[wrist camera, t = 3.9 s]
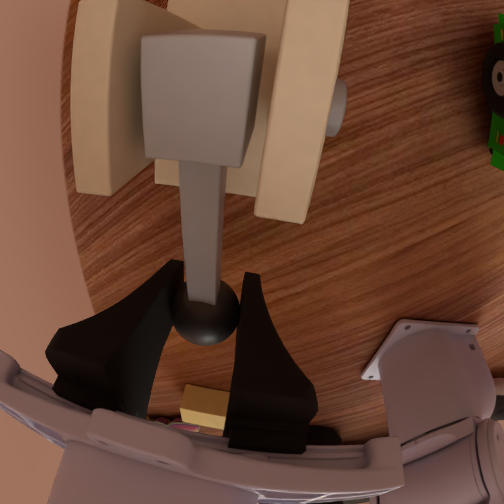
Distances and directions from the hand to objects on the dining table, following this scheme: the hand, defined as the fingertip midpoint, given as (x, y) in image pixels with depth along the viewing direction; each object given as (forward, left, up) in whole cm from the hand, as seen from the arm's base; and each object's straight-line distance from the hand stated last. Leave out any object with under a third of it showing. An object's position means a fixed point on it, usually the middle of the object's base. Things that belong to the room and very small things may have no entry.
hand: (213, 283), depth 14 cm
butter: (0, +20, -4) cm, 21 cm away
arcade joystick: (0, -5, +1) cm, 5 cm away
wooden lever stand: (0, -9, -4) cm, 10 cm away
